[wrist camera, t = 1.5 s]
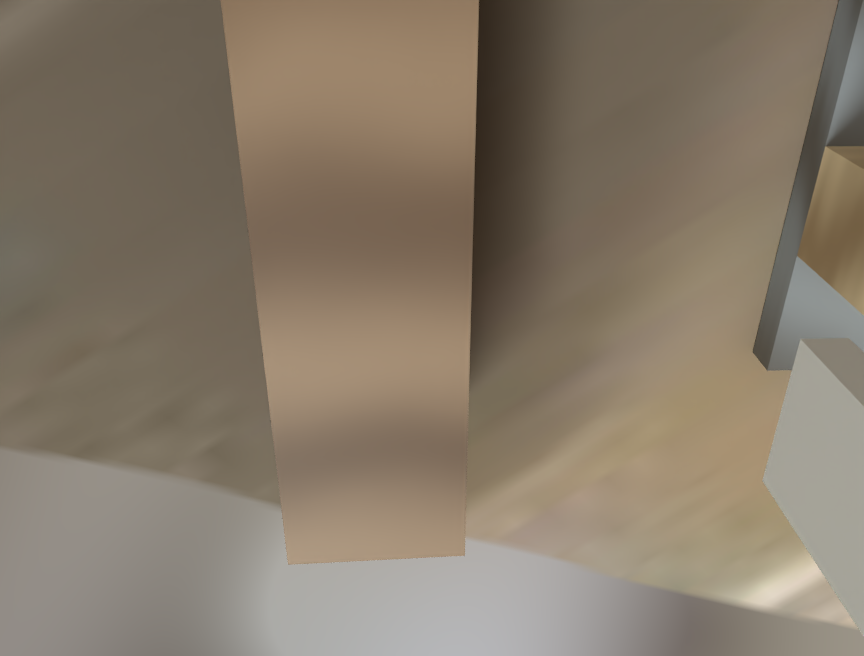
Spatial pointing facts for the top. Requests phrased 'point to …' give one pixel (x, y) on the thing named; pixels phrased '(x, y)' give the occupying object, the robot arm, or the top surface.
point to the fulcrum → (824, 212)
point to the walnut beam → (361, 262)
